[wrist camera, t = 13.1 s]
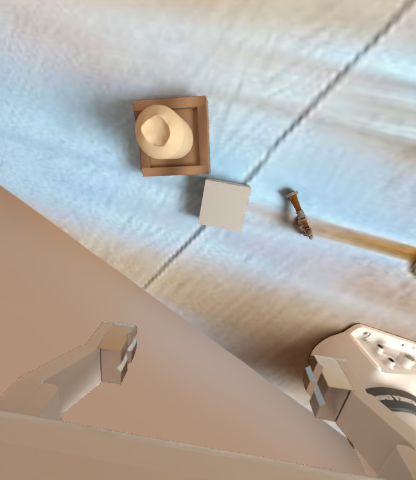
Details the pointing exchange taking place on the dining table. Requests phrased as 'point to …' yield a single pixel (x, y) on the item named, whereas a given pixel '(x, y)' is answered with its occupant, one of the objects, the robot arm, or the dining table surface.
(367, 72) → the dining table surface
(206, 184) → the grey block
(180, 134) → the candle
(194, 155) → the square wooden tray
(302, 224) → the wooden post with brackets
